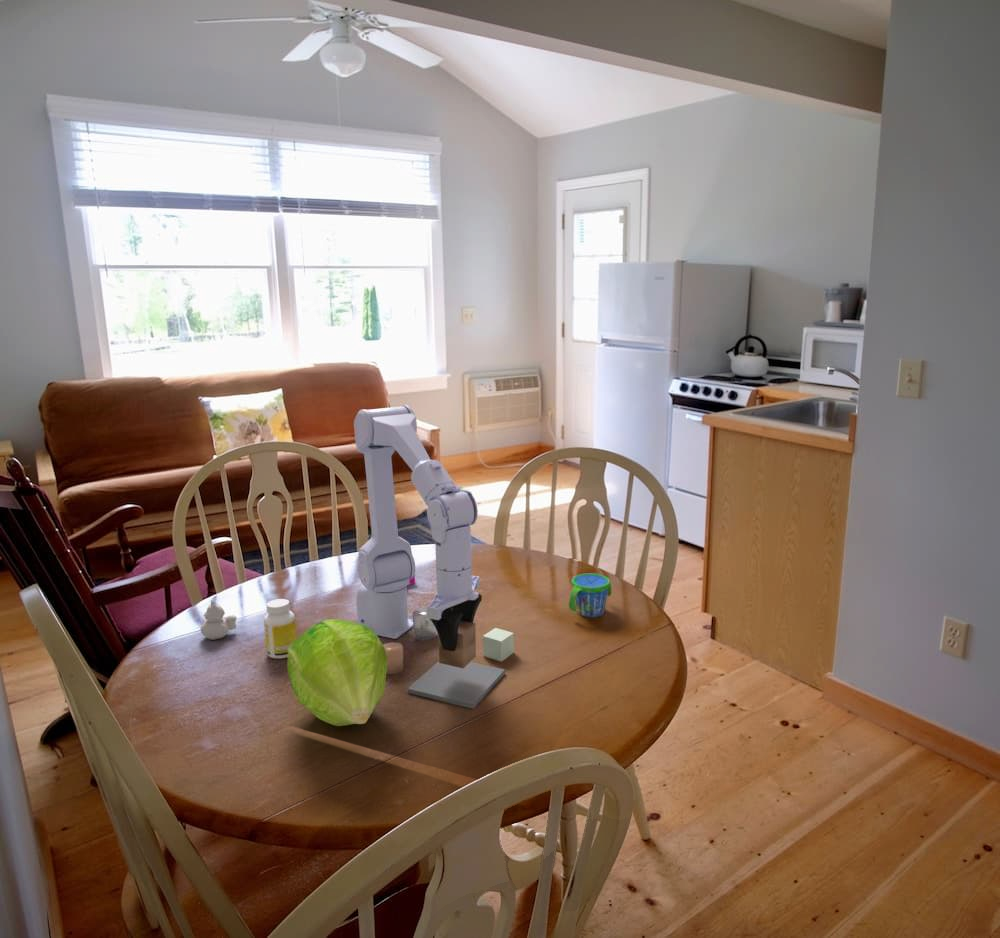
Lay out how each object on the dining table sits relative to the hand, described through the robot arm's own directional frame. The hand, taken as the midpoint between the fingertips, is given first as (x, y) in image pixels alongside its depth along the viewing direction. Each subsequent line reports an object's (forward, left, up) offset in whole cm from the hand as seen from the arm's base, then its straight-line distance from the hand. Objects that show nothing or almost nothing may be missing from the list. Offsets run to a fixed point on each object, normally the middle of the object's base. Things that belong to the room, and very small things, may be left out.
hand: (456, 642), depth 119 cm
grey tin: (-14, +13, -7) cm, 20 cm away
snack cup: (+12, +35, -8) cm, 38 cm away
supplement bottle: (-35, -3, -8) cm, 36 cm away
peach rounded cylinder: (-13, 0, -7) cm, 15 cm away
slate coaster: (0, 0, -7) cm, 7 cm away
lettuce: (-10, -18, -8) cm, 22 cm away
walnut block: (0, 0, -3) cm, 3 cm away
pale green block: (+2, +12, -8) cm, 14 cm away
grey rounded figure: (-51, -3, -8) cm, 51 cm away
